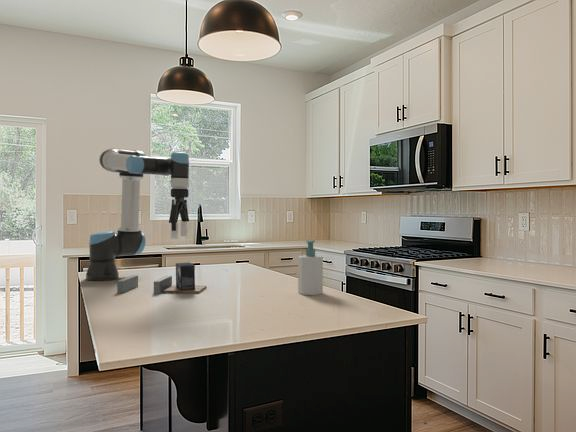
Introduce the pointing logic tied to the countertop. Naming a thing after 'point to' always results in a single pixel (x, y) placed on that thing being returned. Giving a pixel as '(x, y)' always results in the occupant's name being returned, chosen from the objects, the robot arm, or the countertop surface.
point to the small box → (185, 276)
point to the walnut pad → (176, 290)
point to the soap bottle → (310, 272)
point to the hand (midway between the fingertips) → (179, 237)
